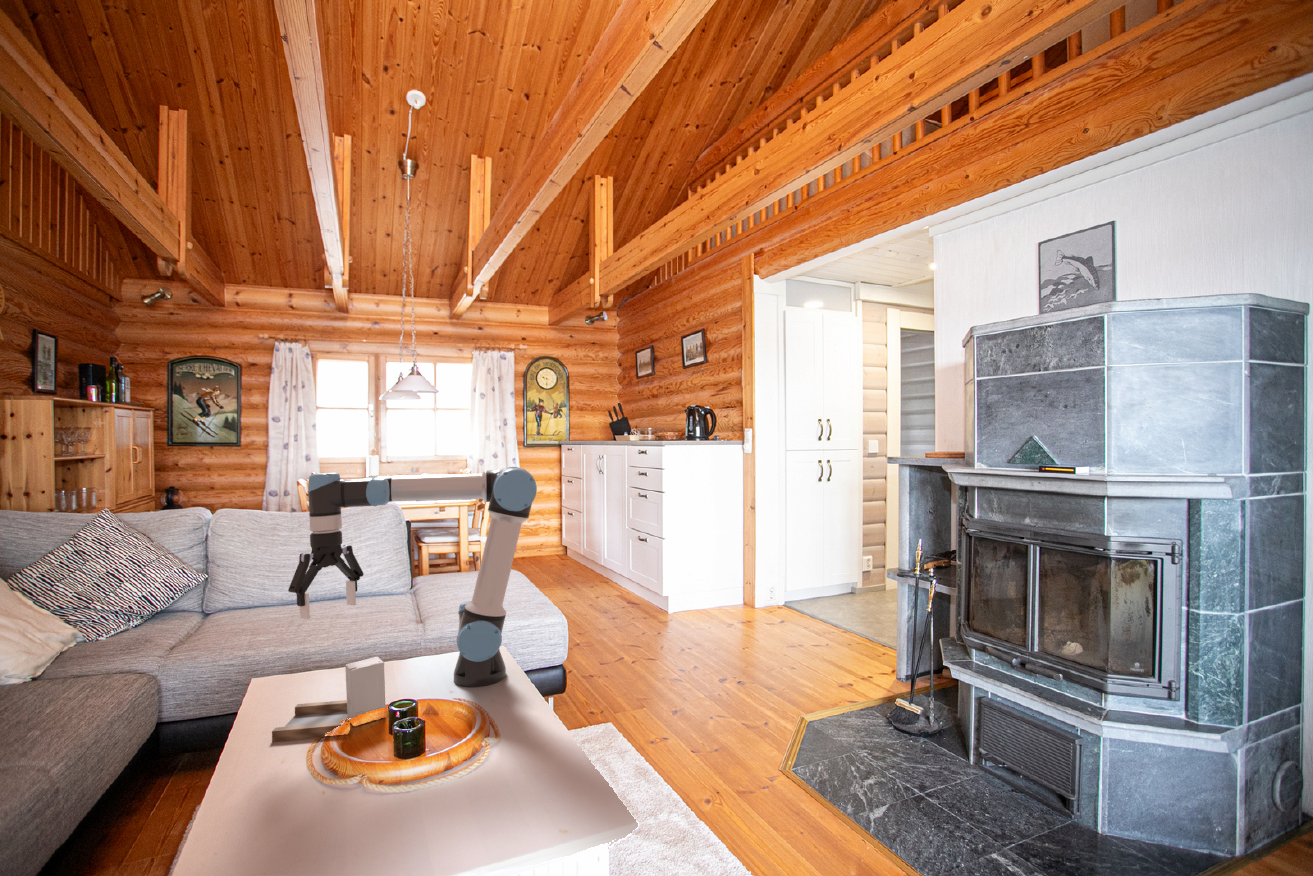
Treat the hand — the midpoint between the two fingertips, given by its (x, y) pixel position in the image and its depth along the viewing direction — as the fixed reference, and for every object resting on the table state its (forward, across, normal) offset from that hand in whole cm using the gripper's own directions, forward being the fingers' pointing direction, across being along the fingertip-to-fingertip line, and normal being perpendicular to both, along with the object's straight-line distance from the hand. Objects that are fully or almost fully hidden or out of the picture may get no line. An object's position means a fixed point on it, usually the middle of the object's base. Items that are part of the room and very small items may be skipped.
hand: (329, 611), depth 166 cm
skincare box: (+27, 0, +12) cm, 30 cm away
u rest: (+27, +6, +4) cm, 28 cm away
